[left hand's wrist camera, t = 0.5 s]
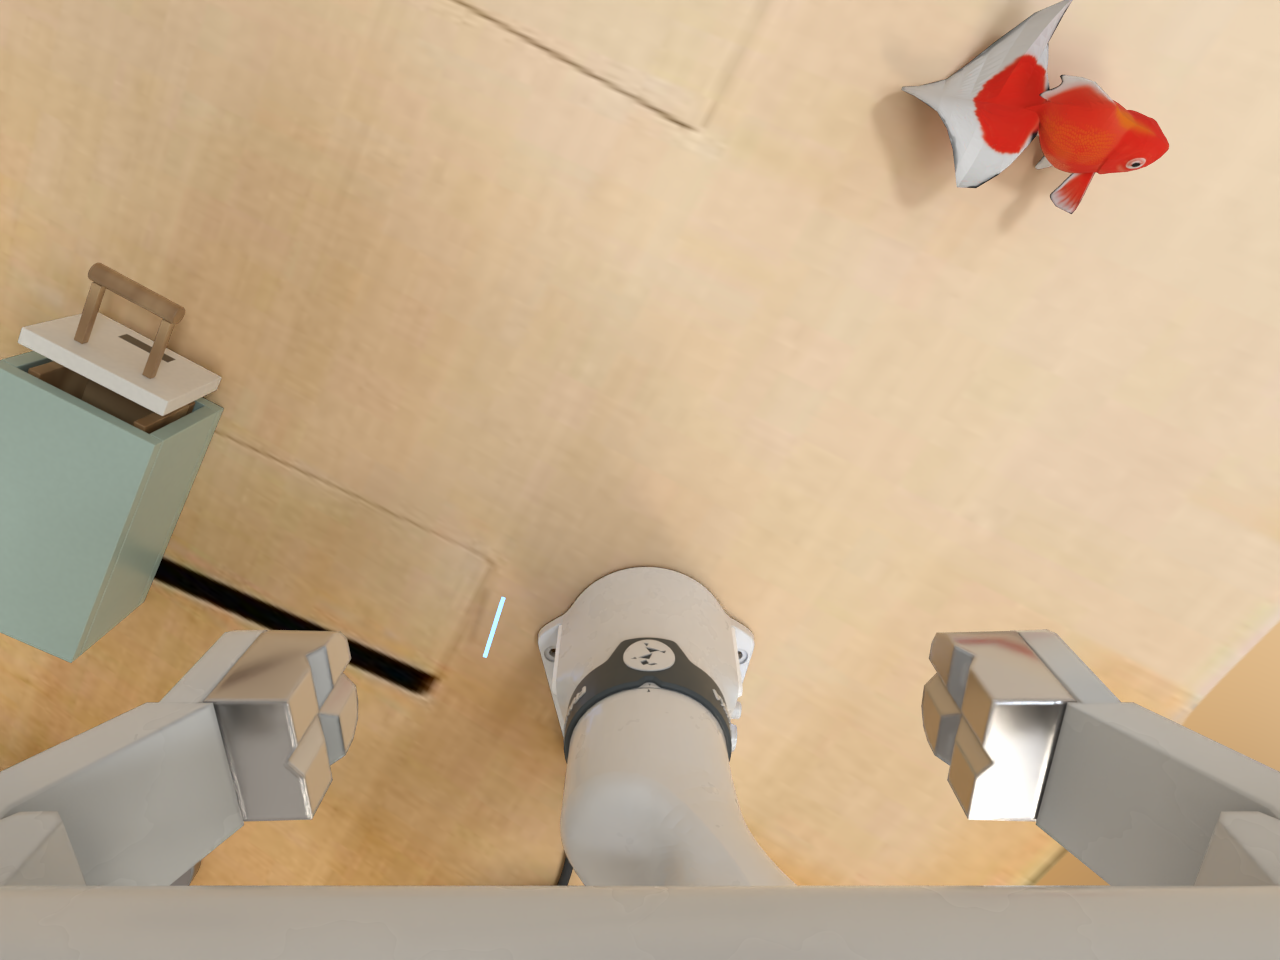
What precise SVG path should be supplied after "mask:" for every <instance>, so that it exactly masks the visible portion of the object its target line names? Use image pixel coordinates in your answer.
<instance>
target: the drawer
mask: <svg viewBox="0 0 1280 960" xmlns="http://www.w3.org/2000/svg"><path fill="white" fill-rule="evenodd" d="M88 277H89V279H90V280H92V281H94V282H92V284H91V287H90V291H89V294H88V297H87V300H86V303H85V306H84V309H83V312H82V314H78V315H73V316H69V317H64V318H60V319H56V320H51V321H47V322H43V323H38V324H34V325H30V326H25V327H22V329H21V333H20V336H19V340H18V343H19V344H21V345H23V346H25V347H27V348H29V349H31V350H33V351H35V352H37V353H39V354H41V355H43V356H45V357H47V358H49V359H51V360H53V361H52V362H49V363H46V364H42V365H39V366H36V367H32V368H29V369H28V374H30V375H32V376H34V377H36V378H38V379H40V380H42V381H44V382H46V383H48V384H50V385H52V386H54V387H56V388H58V389H60V390H62V391H64V392H66V393H68V394H70V395H72V396H74V397H76V398H78V399H80V400H82V401H84V402H86V403H88V404H90V405H92V406H94V407H96V408H98V409H100V410H102V411H104V412H106V413H108V414H110V415H112V416H114V417H116V418H118V419H120V420H122V421H124V422H126V423H128V424H130V425H132V426H134V427H136V428H138V429H140V430H142V431H144V432H146V433H148V434H150V433H152V432H154V431H156V430H158V429H160V428H162V427H164V426H166V425H168V424H170V423H172V422H174V421H176V420H178V419H180V418H182V417H184V416H186V415H188V414H190V413H192V411H193V408H194V405H195V402H194V401H195V400H197V399H199V398H201V397H203V396H205V395H207V394H209V393H211V392H214V391H216V390H217V388H218V386H219V383H220V381H221V378H222V377H221V376H219V375H217V374H215V373H213V372H211V371H209V370H207V369H205V368H204V367H202V366H200V365H198V364H196V363H194V362H192V361H190V360H188V359H186V358H185V357H183V356H181V355H179V354H177V353H175V352H173V351H171V350H169V349H167V348H166V346H167V344H168V341H169V338H170V336H171V333H172V330H173V328H174V325H175V324H177V323H179V322H180V321H181V320H182V318H183V316H184V314H185V309H184V308H183V307H181V306H179V305H178V304H176V303H174V302H172V301H170V300H168V299H166V298H165V297H163V296H161V295H159V294H157V293H155V292H153V291H152V290H150V289H148V288H146V287H144V286H142V285H141V284H139V283H137V282H135V281H133V280H131V279H129V278H128V277H126V276H124V275H122V274H120V273H118V272H116V271H115V270H113V269H111V268H109V267H107V266H105V265H103V264H102V263H96V264H94V265H93V266H92V267H91V268H90V270H89V273H88ZM106 288H107V289H109V290H110V291H112V292H114V293H116V294H118V295H120V296H122V297H124V298H125V299H127V300H129V301H131V302H133V303H135V304H137V305H139V306H140V307H142V308H144V309H146V310H148V311H150V312H152V313H154V314H155V315H157V316H159V317H161V318H163V319H162V321H161V324H160V327H159V330H158V332H157V335H156V338H155V341H152V340H150V339H148V338H147V337H145V336H143V335H141V334H139V333H137V332H135V331H133V330H131V329H129V328H128V327H126V326H124V325H122V324H120V323H118V322H116V321H114V320H112V319H110V318H109V317H107V316H105V315H103V314H101V313H99V312H98V310H99V307H100V304H101V301H102V298H103V295H104V292H105V289H106Z"/></svg>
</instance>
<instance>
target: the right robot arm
mask: <svg viewBox="0 0 1280 960" xmlns="http://www.w3.org/2000/svg"><path fill="white" fill-rule="evenodd" d="M200 864H201V860H200V861H199V862H198V863H197V864H195V865H194V866H193V867H192V868H190V869H189V870H188V871H187V872H185V873H184V874H183V875H182V876H181V877H179V878H178V879H177V880H176V881H174V882H173V883H172V884H171V885H169V886H189V885H190V883H191V882H192V880H193V878H194V877H195V875H196V874H197V872H198V870H199V867H200Z"/></svg>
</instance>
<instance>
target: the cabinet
mask: <svg viewBox="0 0 1280 960" xmlns="http://www.w3.org/2000/svg"><path fill="white" fill-rule="evenodd" d="M52 361H53V360H51V359H49V358H47V357H45V356H43V355H41V354H39V353H37V352H35V351H31V352H28V353H24V354H20V355H17V356H13V357H9V358H6V359H2V360H0V633H3V634H5V635H7V636H10V637H12V638H14V639H17V640H19V641H21V642H24V643H26V644H28V645H31V646H33V647H35V648H37V649H40V650H42V651H44V652H47V653H49V654H51V655H54V656H56V657H58V658H61V659H63V660H65V661H68V662H70V663H72V662H73V661H74V660H75V659H76V658H78V657H79V656H80V655H81V654H83V653H84V652H85V651H86V650H87V649H88V648H90V647H91V646H92V645H93V644H94V643H96V642H97V641H98V640H99V639H100V638H102V637H103V636H104V635H105V634H106V633H108V632H109V631H110V630H111V629H112V628H113V627H115V626H116V625H117V624H118V623H119V622H121V621H122V620H123V619H124V618H125V617H127V616H128V615H129V614H130V613H131V612H132V611H134V610H135V609H136V608H137V607H138V606H140V605H141V604H142V603H143V602H144V601H145V598H146V596H147V593H148V591H149V589H150V586H151V584H152V581H153V579H154V576H155V574H156V572H157V569H158V567H159V564H160V562H161V559H162V557H163V555H164V552H165V550H166V547H167V545H168V543H169V540H170V538H171V535H172V533H173V530H174V528H175V526H176V523H177V521H178V518H179V516H180V513H181V511H182V509H183V506H184V504H185V501H186V499H187V496H188V494H189V492H190V489H191V487H192V484H193V482H194V479H195V477H196V475H197V472H198V470H199V467H200V465H201V463H202V460H203V458H204V455H205V453H206V450H207V448H208V446H209V443H210V441H211V438H212V436H213V433H214V431H215V429H216V426H217V424H218V421H219V419H220V416H221V414H222V412H223V409H224V408H222V407H220V406H218V405H216V404H214V403H213V402H211V401H209V400H207V399H205V398H203V397H201V398H199V399H197V400H195V401H194V402H195V405H194V408H193V411H192V413H190V414H188V415H186V416H184V417H182V418H180V419H178V420H176V421H174V422H172V423H170V424H168V425H166V426H164V427H162V428H160V429H158V430H156V431H154V432H152V433H150V434H148V433H146V432H144V431H142V430H140V429H138V428H136V427H134V426H132V425H130V424H128V423H126V422H124V421H122V420H120V419H118V418H116V417H114V416H112V415H110V414H108V413H106V412H104V411H102V410H100V409H98V408H96V407H94V406H92V405H90V404H88V403H86V402H84V401H82V400H80V399H78V398H76V397H74V396H72V395H70V394H68V393H66V392H64V391H62V390H60V389H58V388H56V387H54V386H52V385H50V384H48V383H46V382H44V381H42V380H40V379H38V378H36V377H34V376H32V375H30V374H28V369H29V368H32V367H36V366H39V365H42V364H46V363H49V362H52Z"/></svg>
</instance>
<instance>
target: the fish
mask: <svg viewBox="0 0 1280 960" xmlns="http://www.w3.org/2000/svg"><path fill="white" fill-rule="evenodd" d="M1071 2H1072V0H1064V1H1061V2H1059V3H1057V4H1054V5H1052V6H1050V7H1047V8H1045V9H1043V10H1040V11H1038V12H1036V13H1034V14H1033V15H1031V16H1030V17H1029V18H1027V19H1026V20H1024V21H1023V22H1022V23H1020V24H1019V25H1018V26H1016V27H1015V28H1013V29H1012V30H1011V31H1009V32H1008V33H1007V34H1005V35H1004V36H1003V37H1001V38H1000V39H998V40H997V41H996V42H994V43H993V44H992V45H991V46H989V47H988V48H987V49H986V50H984V51H983V52H982V53H981V54H979V55H978V56H977V57H976V58H974V59H973V60H972V61H971V62H970V63H968V64H967V65H965V66H964V67H963V68H961V69H960V70H958V71H957V72H956V73H954V74H953V75H952V76H950V77H949V78H947V79H945V80H941V81H937V82H933V83H929V84H925V85H921V86H907V87H902V89H901V90H903V91H905V92H907V93H909V94H911V95H914V96H915V97H917V98H918V99H920V100H921V101H923V102H924V103H926V104H927V105H929V106H930V107H931V108H933V109H934V110H936V111H937V112H938V114H939V116H940V117H941V119H942V121H943V123H944V124H945V126H946V128H947V131H948V134H949V138H950V141H951V145H952V148H953V155H954V164H955V173H956V183H957V187H965V188H977V187H979V186H980V185H982V184H984V183H985V182H987V181H989V180H990V179H992V178H994V177H995V176H997V175H998V174H1000V173H1001V172H1002V171H1003V170H1004V169H1006V168H1007V167H1008V166H1009V165H1010V164H1011V163H1012V162H1013V161H1014V160H1015V159H1016V158H1017V157H1018V156H1019V155H1020V154H1021V153H1022V151H1023V150H1024V149H1025V148H1026V147H1027V146H1028V145H1029V144H1030V142H1031V141H1032V140H1033V139H1034V138H1035V137H1036V136H1039V140H1040V145H1041V149H1042V152H1043V154H1044V156H1043V157H1042V159H1041V160H1040V161H1039V162H1038V163H1037V165H1036V166H1035V168H1036V169H1043V168H1047V167H1050V166H1054V167H1055V168H1057V169H1059V170H1062V171H1065V172H1069V173H1072V174H1071V175H1070V176H1069V177H1068V178H1067V179H1066V180H1065V181H1064V182H1063V183H1062V184H1061V185H1060V186H1059V187H1058V188H1057V189H1056V190H1054V191H1053V192H1052V193H1051V194H1050V198H1051V200H1052V201H1053V203H1054V204H1055V206H1056V207H1058V208H1060V209H1062V210H1064V211H1066V212H1068V213H1070V214H1072V213H1073V212H1074V211H1075V210H1076V208H1077V207H1078V205H1079V203H1080V201H1081V200H1082V198H1083V196H1084V194H1085V192H1086V190H1087V187H1088V186H1089V184H1090V182H1091V180H1092V178H1093V176H1094V174H1095V172H1097V173H1099V174H1106V173H1116V172H1128V171H1133V170H1137V169H1140V168H1143V167H1146V166H1148V165H1149V164H1151V163H1153V162H1155V161H1156V160H1158V159H1159V158H1160V157H1161V156H1162V155H1163V154H1164V153H1165V152H1166V151H1167V150H1168V149H1169V143H1168V141H1167V139H1166V137H1165V136H1164V134H1163V132H1162V130H1161V129H1160V127H1159V125H1158V123H1157V122H1156V121H1155V120H1154V119H1153V118H1149V117H1147V116H1145V115H1143V114H1141V113H1139V112H1136V111H1133V110H1126V109H1125V108H1124V107H1122V106H1121V105H1120V104H1119V103H1117V102H1115V101H1114V100H1112V99H1111V98H1110V97H1109V96H1108V95H1107V94H1106V93H1105V92H1104V91H1103V90H1102V89H1101V87H1100V86H1099V85H1098V84H1097V83H1096V82H1094V81H1091V80H1088V79H1085V78H1082V77H1075V76H1068V75H1061V76H1060V77H1061V79H1062V83H1061V84H1060V85H1059V86H1058V87H1056V88H1053V89H1049V82H1048V75H1047V66H1048V42H1049V40H1050V39H1051V37H1052V35H1053V33H1054V31H1055V29H1056V28H1057V26H1058V24H1059V22H1060V20H1061V18H1062V17H1063V15H1064V13H1065V11H1066V10H1067V8H1068V7H1069V5H1070V3H1071ZM1047 100H1048V101H1047Z"/></svg>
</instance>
